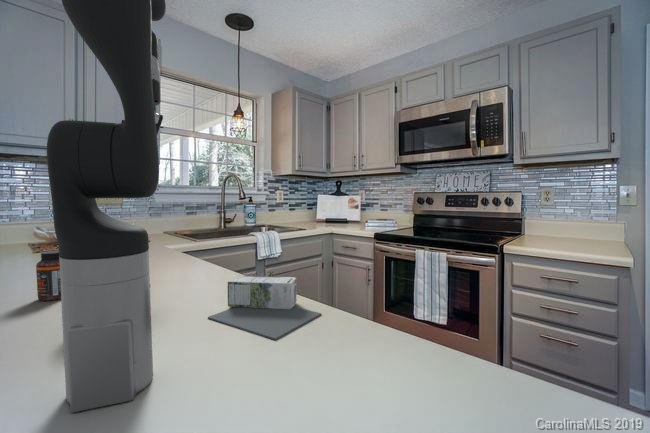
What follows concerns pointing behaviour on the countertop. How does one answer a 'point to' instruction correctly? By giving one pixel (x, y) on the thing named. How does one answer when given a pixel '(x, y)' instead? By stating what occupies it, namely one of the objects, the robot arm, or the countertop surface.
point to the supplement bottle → (49, 276)
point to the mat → (265, 320)
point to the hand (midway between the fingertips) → (142, 161)
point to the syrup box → (262, 292)
